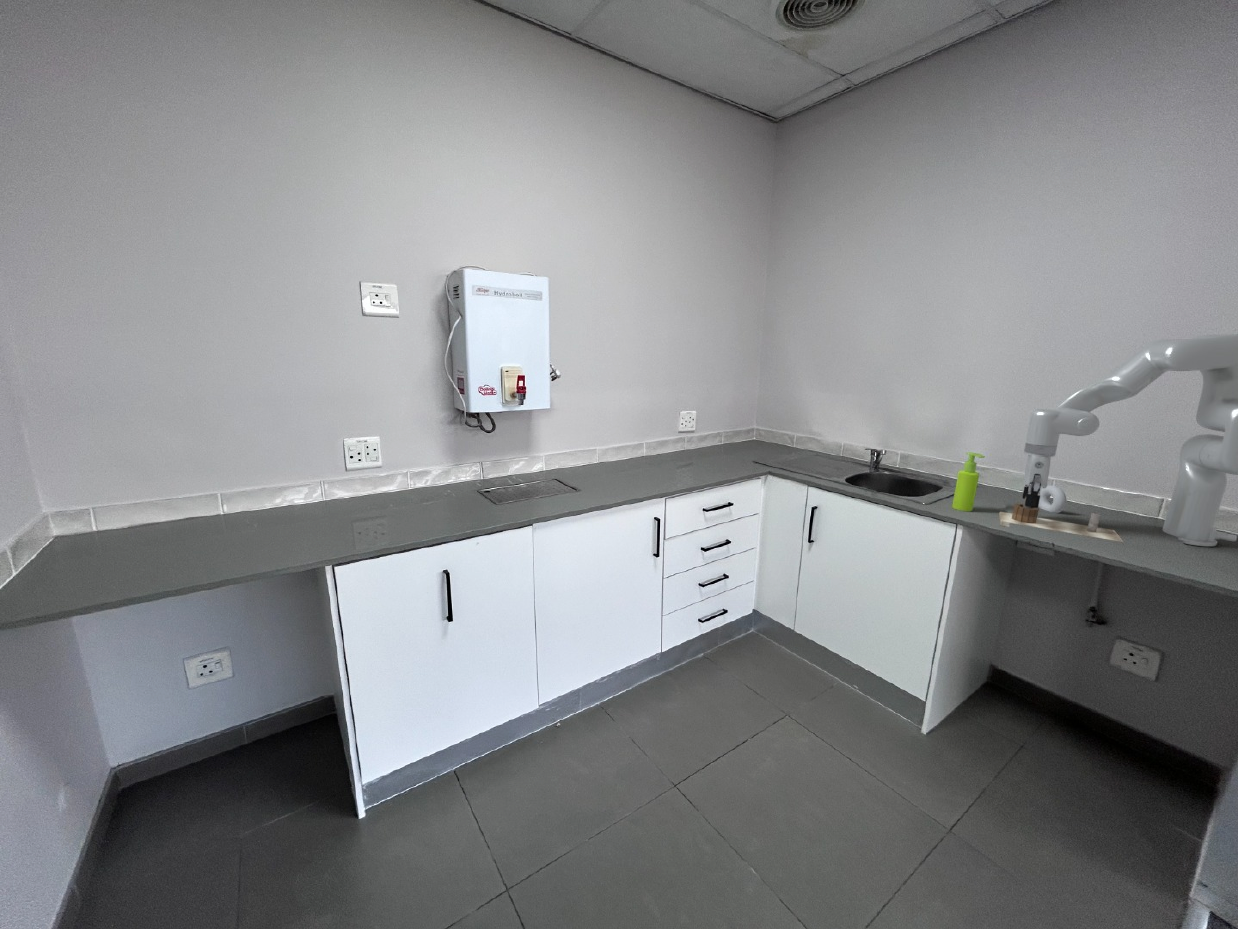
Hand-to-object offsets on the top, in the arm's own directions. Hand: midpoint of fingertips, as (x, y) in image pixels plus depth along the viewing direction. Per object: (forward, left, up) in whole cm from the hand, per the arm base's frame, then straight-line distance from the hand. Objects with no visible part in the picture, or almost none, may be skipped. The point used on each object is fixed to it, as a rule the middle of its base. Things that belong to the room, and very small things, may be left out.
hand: (1029, 502), depth 157 cm
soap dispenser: (+17, -7, -8) cm, 19 cm away
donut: (-7, -20, -8) cm, 22 cm away
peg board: (-7, 0, -7) cm, 10 cm away
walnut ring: (+1, 0, -6) cm, 6 cm away
